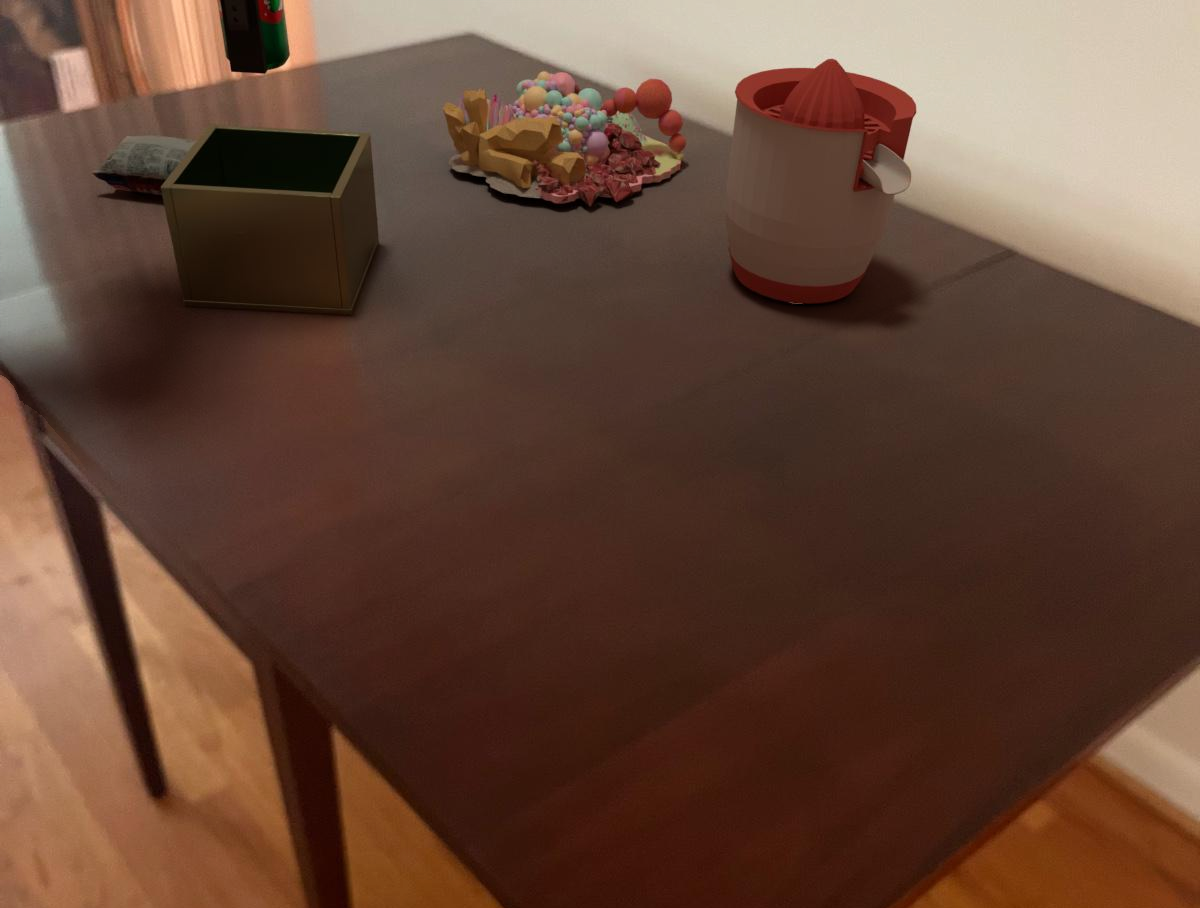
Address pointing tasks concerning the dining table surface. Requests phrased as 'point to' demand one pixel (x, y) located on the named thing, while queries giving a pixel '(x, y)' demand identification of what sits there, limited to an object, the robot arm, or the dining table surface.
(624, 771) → the dining table surface
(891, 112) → the citrus juicer
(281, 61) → the soda can
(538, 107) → the food platter
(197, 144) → the bin
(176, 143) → the packaged food
